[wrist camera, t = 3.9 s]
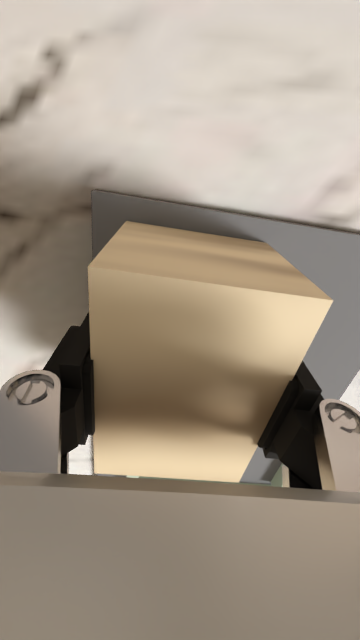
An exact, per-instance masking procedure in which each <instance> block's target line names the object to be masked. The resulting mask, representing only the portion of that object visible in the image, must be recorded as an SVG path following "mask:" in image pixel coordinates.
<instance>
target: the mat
mask: <svg viewBox="0 0 360 640" xmlns="http://www.w3.org/2000/svg"><path fill="white" fill-rule="evenodd" d="M91 200H92V251H93V260H94V258H95V257H96V256H97V255H98V254H99V252H100V251H101V250H102V249H103V248H104V247H105V245H106V244H107V243H108V242H109V241H110V239H111V238H112V237H113V236H114V235H115V234H116V232H117V231H118V230H119V229H120V228H121V226H122V225H123V224H124V223H125V222H126V221H131V222H137V223H144V224H150V225H156V226H163V227H169V228H175V229H182V230H188V231H194V232H201V233H207V234H213V235H220V236H226V237H232V238H239V239H245V240H251V241H258V242H264V243H267V244H268V245H270V246H271V247H272V248H273V249H274V250H275V251H277V252H278V253H279V254H280V255H281V256H282V257H284V258H285V259H286V260H287V261H288V262H289V263H291V264H292V265H293V266H294V267H295V268H296V269H297V270H299V271H300V272H301V273H302V274H303V275H304V276H306V277H307V278H308V279H309V280H310V281H311V282H313V283H314V284H315V285H316V286H317V287H318V288H320V289H321V290H322V291H323V292H324V293H325V294H326V295H328V296H329V297H330V298H331V299H332V300H333V302H332V304H331V306H330V308H329V310H328V312H327V314H326V316H325V318H324V320H323V322H322V324H321V325H320V327H319V329H318V331H317V333H316V335H315V337H314V339H313V341H312V343H311V345H310V347H309V349H308V350H307V352H306V354H305V356H304V358H303V362H304V363H305V365H306V366H307V368H308V370H309V371H310V373H311V374H312V376H313V377H314V379H315V380H316V382H317V383H318V385H319V386H320V388H321V390H322V392H321V395H322V396H323V398H324V400H325V399H336V400H339V399H340V398H341V396H342V395H343V393H344V392H345V390H346V389H347V387H348V386H349V384H350V383H351V381H352V380H353V378H354V377H355V375H356V374H357V372H358V371H359V370H360V234H358V233H352V232H346V231H340V230H334V229H328V228H322V227H316V226H310V225H304V224H298V223H292V222H286V221H280V220H274V219H268V218H262V217H256V216H250V215H244V214H238V213H232V212H226V211H220V210H214V209H208V208H202V207H196V206H190V205H184V204H178V203H172V202H166V201H160V200H154V199H148V198H142V197H136V196H130V195H124V194H118V193H112V192H106V191H100V190H92V191H91ZM97 476H111V477H129V478H146V479H163V480H179V481H195V482H211V483H227V484H243V485H258V486H274V487H283V485H282V462H280V460H279V459H270V458H265V456H264V452H263V449H262V448H259V447H257V448H256V450H255V452H254V454H253V456H252V458H251V460H250V462H249V464H248V466H247V468H246V470H245V472H244V473H243V475H242V477H241V479H240V481H239V483H237V482H222V481H206V480H191V479H175V478H159V477H144V476H128V475H113V474H97Z"/></svg>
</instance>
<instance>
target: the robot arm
mask: <svg viewBox="0 0 360 640" xmlns="http://www.w3.org/2000/svg"><path fill="white" fill-rule="evenodd" d="M321 392H322V390H321V388H320V386H319V385H318V383H317V382H316V380H315V379H314V377H313V376H312V374H311V373H310V371H309V370H308V368H307V366H306V365H305V363H304V362H303V360H302V362H301V364H300V366H299V368H298V370H297V372H296V374H295V375H294V377H293V379H292V381H289V383H288V384H287V386H286V388H285V390H284V392H283V394H282V396H281V398H280V400H279V402H278V404H277V406H276V408H275V410H274V412H273V414H272V416H271V418H270V419H269V421H268V423H267V425H266V427H265V429H264V431H263V433H262V435H261V437H260V439H259V441H258V443H257V445H258V447H259V448H262V449H263V452H264V456H265V458H270V459H279V460H280V462H282V485H283V487H274V486H258V485H243V484H227V483H211V482H195V481H179V480H163V479H146V478H129V477H111V476H94V475H77V474H69V452H70V451H71V450H73V449H74V448H76V447H77V446H78V444H81V445H85V443H86V440H87V437H88V435H94V433H95V405H94V366H93V360H91V353H90V322H89V313H88V314H87V316H86V318H85V319H84V321H83V323H82V325H81V326H80V327H79V326H71V327H70V328H69V330H68V331H67V333H66V334H65V336H64V337H63V339H62V340H61V342H60V344H59V345H58V347H57V348H56V350H55V351H54V353H53V355H52V356H51V358H50V359H49V361H48V362H47V364H46V365H45V367H44V369H43V370H31V371H26V372H23V373H21V374H18V375H16V376H14V377H13V378H11V379H9V380H8V381H7V382H6V383H5V384H4V385H3V386H2V388H1V390H0V640H360V412H359V411H357V410H356V409H355V408H353V407H352V406H350V405H348V404H347V403H344V402H342V401H340V400H336V399H325V400H324V398H323V396H322V395H321Z"/></svg>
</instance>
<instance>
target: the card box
mask: <svg viewBox="0 0 360 640" xmlns="http://www.w3.org/2000/svg"><path fill="white" fill-rule="evenodd" d="M88 291H89V322H90V353H91V360H93V366H94V405H95V433H94V435H93V446H94V473H97V474H113V475H128V476H144V477H159V478H175V479H191V480H206V481H222V482H237V483H239V481H240V479H241V477H242V475H243V473H244V472H245V470H246V468H247V466H248V464H249V462H250V460H251V458H252V456H253V454H254V452H255V450H256V448H257V447H258V445H257V443H258V441H259V439H260V437H261V435H262V433H263V431H264V429H265V427H266V425H267V423H268V421H269V419H270V418H271V416H272V414H273V412H274V410H275V408H276V406H277V404H278V402H279V400H280V398H281V396H282V394H283V392H284V390H285V388H286V386H287V384H288V383H289V381H292V379H293V377H294V375H295V374H296V372H297V370H298V368H299V366H300V364H301V362H302V360H303V358H304V356H305V354H306V352H307V350H308V349H309V347H310V345H311V343H312V341H313V339H314V337H315V335H316V333H317V331H318V329H319V327H320V325H321V324H322V322H323V320H324V318H325V316H326V314H327V312H328V310H329V308H330V306H331V304H332V302H333V300H332V299H331V298H330V297H329V296H328V295H326V294H325V293H324V292H323V291H322V290H321V289H320V288H318V287H317V286H316V285H315V284H314V283H313V282H311V281H310V280H309V279H308V278H307V277H306V276H304V275H303V274H302V273H301V272H300V271H299V270H297V269H296V268H295V267H294V266H293V265H292V264H291V263H289V262H288V261H287V260H286V259H285V258H284V257H282V256H281V255H280V254H279V253H278V252H277V251H275V250H274V249H273V248H272V247H271V246H270V245H268V244H267V243H264V242H258V241H251V240H245V239H239V238H232V237H226V236H220V235H213V234H207V233H201V232H194V231H188V230H182V229H175V228H169V227H163V226H156V225H150V224H144V223H137V222H131V221H126V222H125V223H124V224H123V225H122V226H121V228H120V229H119V230H118V231H117V232H116V234H115V235H114V236H113V237H112V238H111V239H110V241H109V242H108V243H107V244H106V245H105V247H104V248H103V249H102V250H101V251H100V252H99V254H98V255H97V256H96V257H95V258H94V260H93V261H92V262H91V263H90V264H89V265H88Z"/></svg>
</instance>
